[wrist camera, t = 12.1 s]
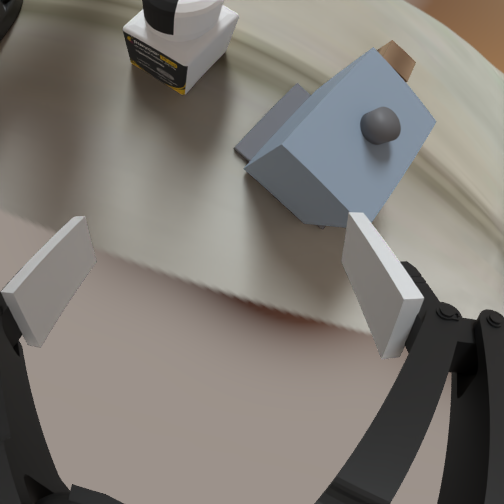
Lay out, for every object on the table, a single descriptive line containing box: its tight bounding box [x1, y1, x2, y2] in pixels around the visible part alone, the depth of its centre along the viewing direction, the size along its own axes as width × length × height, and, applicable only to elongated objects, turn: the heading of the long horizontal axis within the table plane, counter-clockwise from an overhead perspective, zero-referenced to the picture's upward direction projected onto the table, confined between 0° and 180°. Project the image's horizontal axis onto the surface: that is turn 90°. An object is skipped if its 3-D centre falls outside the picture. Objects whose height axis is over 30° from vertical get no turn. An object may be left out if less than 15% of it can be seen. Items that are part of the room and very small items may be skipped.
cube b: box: [377, 40, 416, 82], centre depth 30 cm, size 4×4×4 cm
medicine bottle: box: [123, 0, 239, 95], centre depth 20 cm, size 7×7×12 cm
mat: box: [234, 83, 325, 229], centre depth 30 cm, size 12×10×1 cm
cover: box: [244, 47, 436, 228], centre depth 24 cm, size 8×12×13 cm, turn 140°
